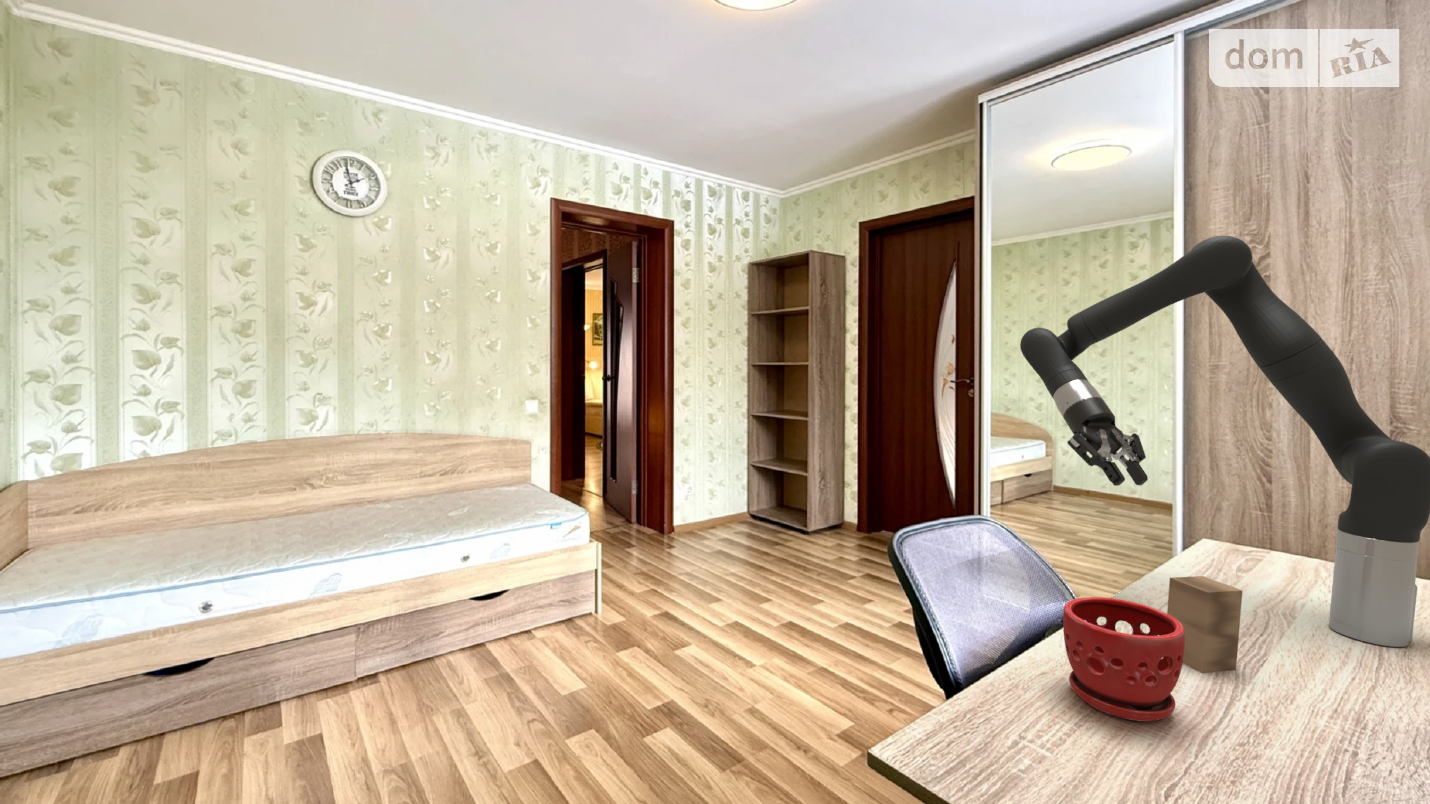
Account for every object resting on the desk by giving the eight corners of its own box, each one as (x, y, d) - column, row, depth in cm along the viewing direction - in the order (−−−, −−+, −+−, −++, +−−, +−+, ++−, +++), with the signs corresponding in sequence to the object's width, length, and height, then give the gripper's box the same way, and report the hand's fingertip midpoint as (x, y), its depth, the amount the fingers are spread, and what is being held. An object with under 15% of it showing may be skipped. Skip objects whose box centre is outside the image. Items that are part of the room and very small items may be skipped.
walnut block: (1197, 650, 95) (1202, 576, 94) (1236, 670, 89) (1242, 590, 88) (1164, 653, 94) (1169, 577, 93) (1201, 672, 88) (1207, 592, 87)
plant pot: (1088, 667, 89) (1094, 588, 88) (1196, 712, 77) (1204, 621, 77) (1039, 692, 82) (1044, 605, 81) (1150, 745, 70) (1157, 645, 70)
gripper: (1061, 395, 113) (1109, 471, 102) (1127, 396, 115) (1181, 470, 104) (1039, 420, 118) (1083, 495, 107) (1102, 420, 121) (1152, 494, 110)
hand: (1131, 482), depth 106 cm, fingers open, 4 cm apart
